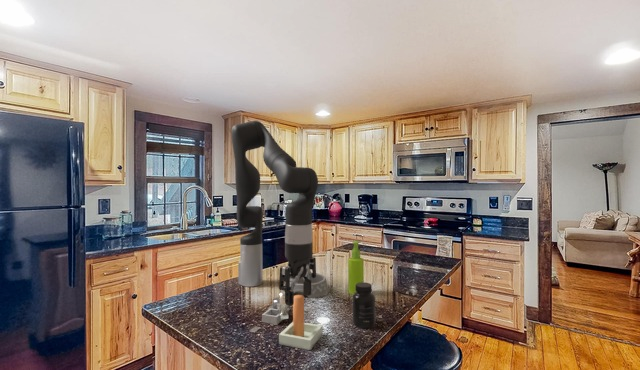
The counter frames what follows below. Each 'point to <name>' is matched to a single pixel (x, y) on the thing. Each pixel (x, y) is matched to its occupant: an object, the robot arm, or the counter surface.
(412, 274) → the counter surface
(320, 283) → the dog bowl
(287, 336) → the tray
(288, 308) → the crank flange
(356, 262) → the soap dispenser
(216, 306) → the counter surface
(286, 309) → the crank
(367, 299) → the supplement bottle
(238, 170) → the robot arm
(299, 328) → the pin
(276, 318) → the collar
